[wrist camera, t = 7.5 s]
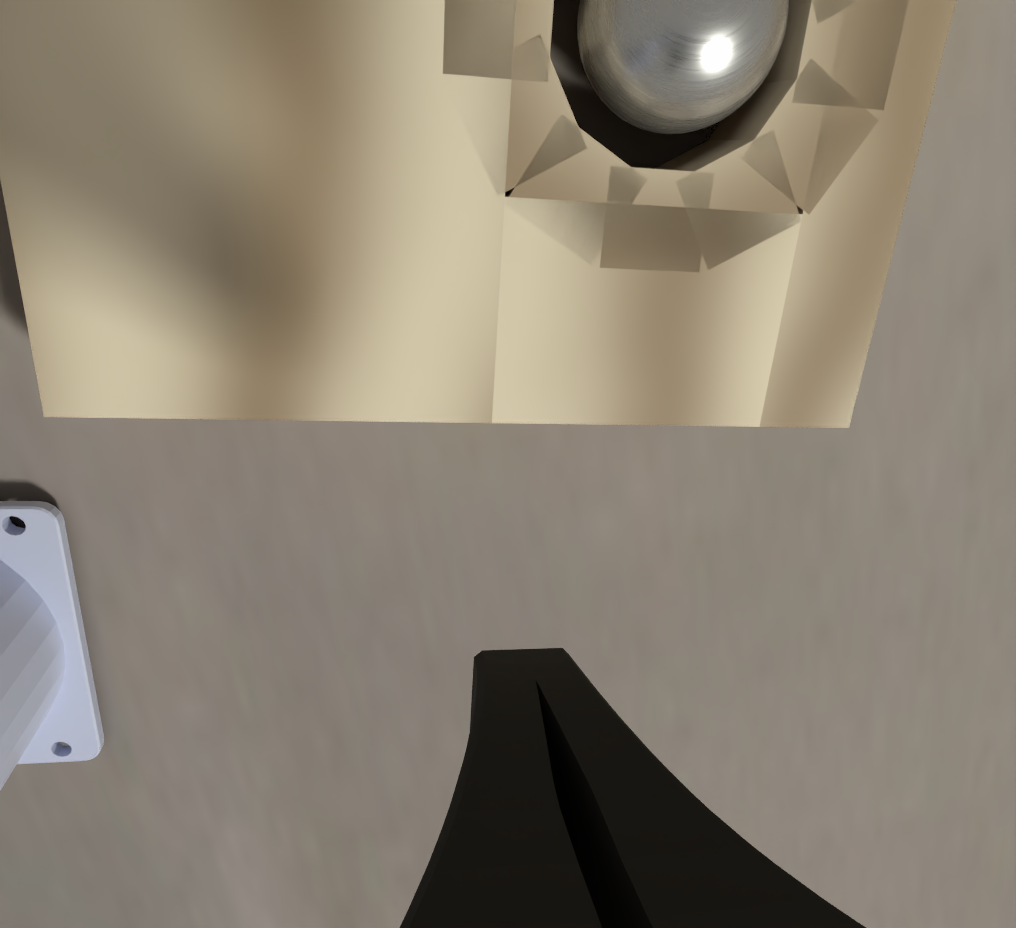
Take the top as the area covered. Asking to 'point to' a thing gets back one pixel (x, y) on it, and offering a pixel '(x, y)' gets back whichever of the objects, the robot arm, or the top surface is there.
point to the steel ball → (678, 57)
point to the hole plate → (442, 216)
